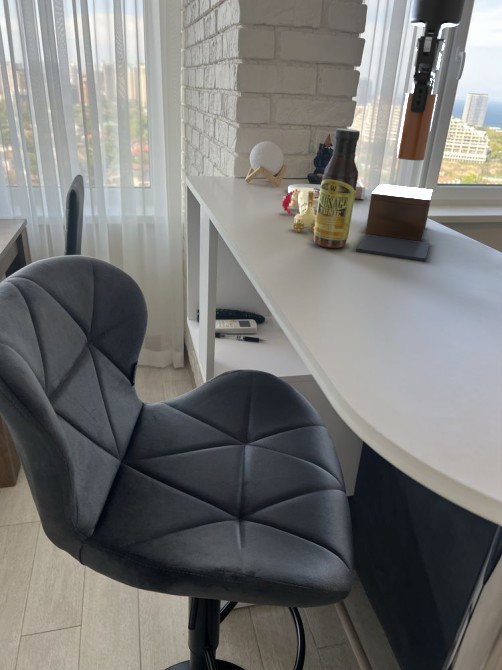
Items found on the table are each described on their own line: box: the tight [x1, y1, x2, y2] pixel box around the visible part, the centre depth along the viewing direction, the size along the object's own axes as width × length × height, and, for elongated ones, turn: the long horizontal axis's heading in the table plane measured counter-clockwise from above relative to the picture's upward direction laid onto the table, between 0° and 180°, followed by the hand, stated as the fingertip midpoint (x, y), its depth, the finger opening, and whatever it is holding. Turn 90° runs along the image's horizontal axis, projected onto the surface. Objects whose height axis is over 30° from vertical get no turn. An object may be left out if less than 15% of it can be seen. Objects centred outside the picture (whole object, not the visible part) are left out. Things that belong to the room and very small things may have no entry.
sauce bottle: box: [313, 128, 361, 249], centre depth 89 cm, size 6×6×20 cm
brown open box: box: [365, 183, 434, 242], centre depth 104 cm, size 11×12×8 cm
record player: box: [287, 181, 366, 200], centre depth 137 cm, size 12×3×20 cm
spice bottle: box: [395, 80, 438, 161], centre depth 84 cm, size 5×5×12 cm
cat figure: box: [281, 187, 320, 233], centre depth 109 cm, size 10×9×25 cm
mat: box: [355, 233, 430, 262], centre depth 93 cm, size 12×11×1 cm
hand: (418, 111), depth 83 cm, fingers closed on spice bottle, 4 cm apart
